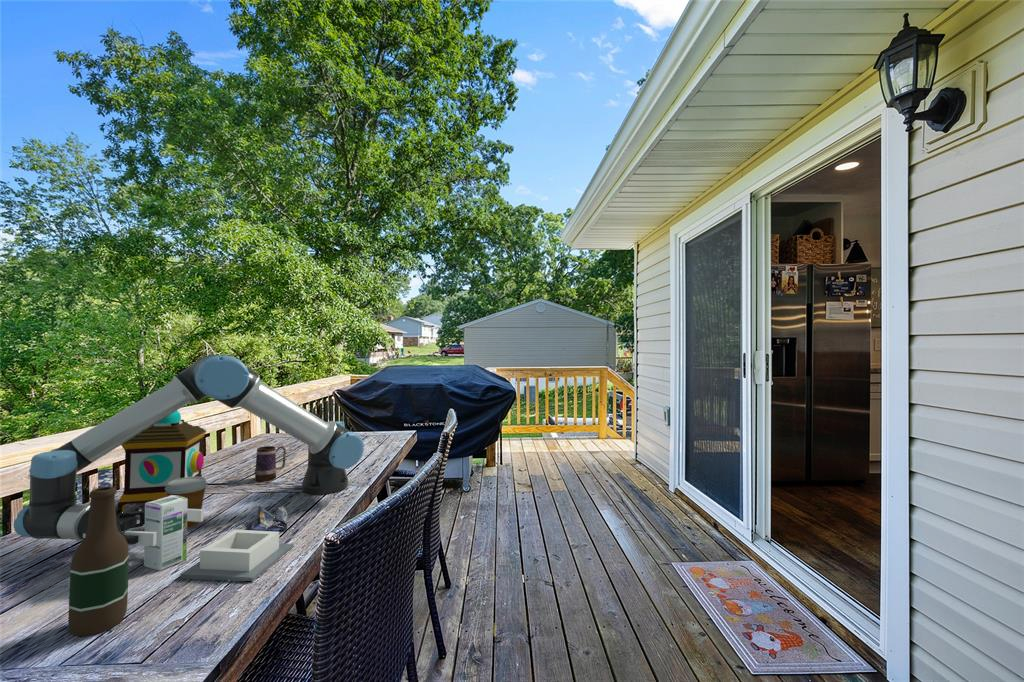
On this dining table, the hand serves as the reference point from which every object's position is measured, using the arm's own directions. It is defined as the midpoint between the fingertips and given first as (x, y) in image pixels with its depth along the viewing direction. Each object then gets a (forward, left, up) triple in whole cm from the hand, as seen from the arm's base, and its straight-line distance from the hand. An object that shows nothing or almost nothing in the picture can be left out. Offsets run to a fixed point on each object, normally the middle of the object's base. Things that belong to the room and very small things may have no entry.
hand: (180, 526), depth 102 cm
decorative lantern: (+4, -51, -9) cm, 52 cm away
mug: (-27, -61, -9) cm, 68 cm away
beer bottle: (+12, +19, -9) cm, 24 cm away
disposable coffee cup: (-1, -26, -9) cm, 28 cm away
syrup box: (+3, -2, -9) cm, 9 cm away
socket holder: (-11, +7, -9) cm, 16 cm away
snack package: (-21, -12, -9) cm, 26 cm away
